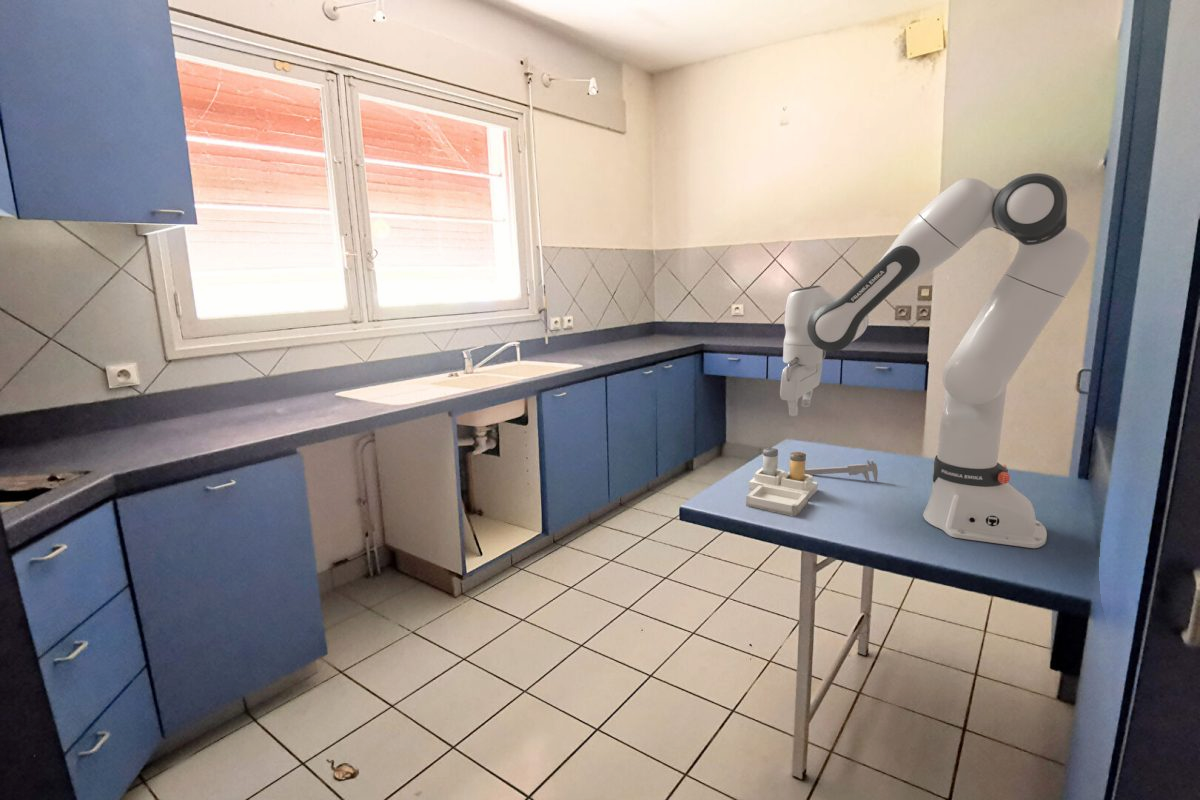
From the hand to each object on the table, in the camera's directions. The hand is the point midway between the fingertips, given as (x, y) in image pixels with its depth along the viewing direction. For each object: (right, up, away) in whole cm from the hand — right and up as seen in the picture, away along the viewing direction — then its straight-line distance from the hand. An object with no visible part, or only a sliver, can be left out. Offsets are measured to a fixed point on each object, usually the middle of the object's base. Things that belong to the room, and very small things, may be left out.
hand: (799, 410), depth 146 cm
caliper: (+14, -19, +14) cm, 27 cm away
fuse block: (-2, -20, +7) cm, 21 cm away
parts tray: (-6, -23, -2) cm, 23 cm away
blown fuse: (+1, -19, +4) cm, 19 cm away
